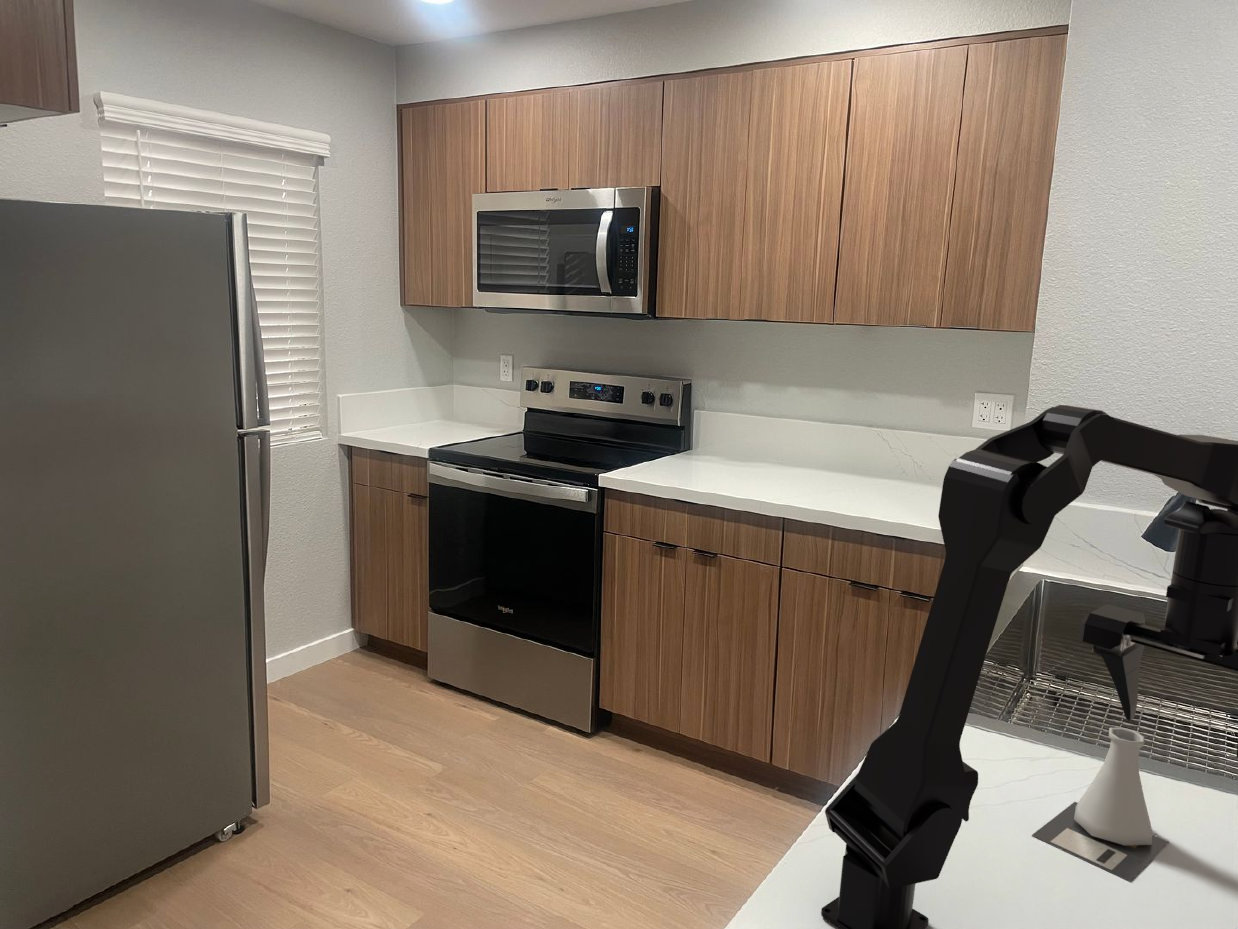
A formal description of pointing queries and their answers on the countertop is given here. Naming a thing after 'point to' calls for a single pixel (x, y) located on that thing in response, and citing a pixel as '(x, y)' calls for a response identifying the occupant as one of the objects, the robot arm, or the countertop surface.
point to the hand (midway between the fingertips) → (1183, 737)
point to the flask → (1117, 795)
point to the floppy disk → (1098, 846)
